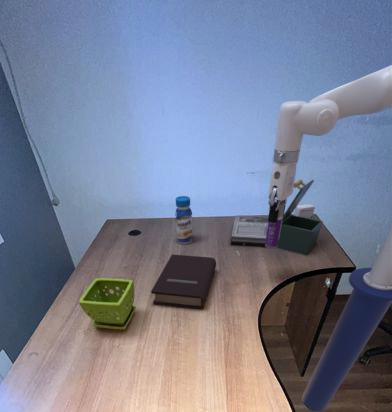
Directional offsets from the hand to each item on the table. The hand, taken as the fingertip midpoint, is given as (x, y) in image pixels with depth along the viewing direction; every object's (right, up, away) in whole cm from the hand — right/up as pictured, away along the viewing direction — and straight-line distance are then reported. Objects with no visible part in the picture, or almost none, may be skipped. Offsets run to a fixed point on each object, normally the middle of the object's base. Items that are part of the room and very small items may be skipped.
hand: (275, 218), depth 93 cm
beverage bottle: (-34, +10, +43) cm, 56 cm away
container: (0, -7, +7) cm, 10 cm away
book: (-32, -21, +14) cm, 41 cm away
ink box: (+27, +18, +49) cm, 59 cm away
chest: (+20, +5, +36) cm, 42 cm away
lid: (+17, +19, +25) cm, 35 cm away
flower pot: (-57, -36, +1) cm, 67 cm away
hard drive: (0, +14, +46) cm, 48 cm away
